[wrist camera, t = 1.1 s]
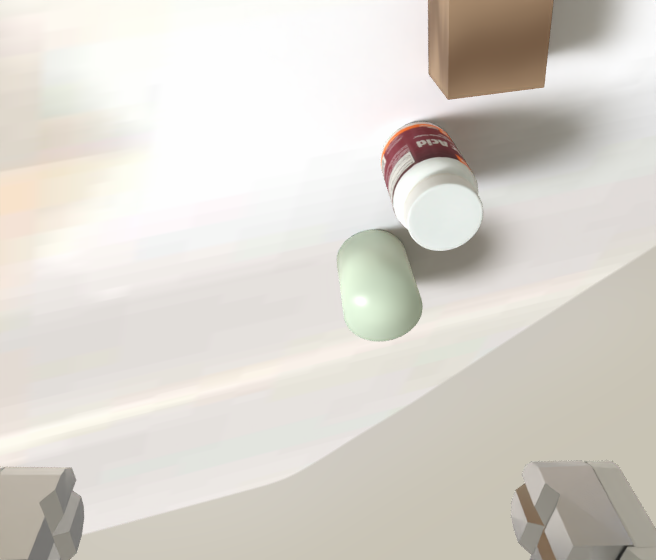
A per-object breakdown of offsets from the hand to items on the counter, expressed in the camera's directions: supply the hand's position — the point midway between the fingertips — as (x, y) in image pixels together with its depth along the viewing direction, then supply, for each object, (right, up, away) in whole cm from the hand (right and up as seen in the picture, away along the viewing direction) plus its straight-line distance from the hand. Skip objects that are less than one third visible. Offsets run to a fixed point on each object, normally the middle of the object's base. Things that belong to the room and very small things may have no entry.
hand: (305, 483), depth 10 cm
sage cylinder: (+4, +5, +31) cm, 31 cm away
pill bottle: (+6, +12, +26) cm, 30 cm away
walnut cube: (+9, +18, +22) cm, 30 cm away
